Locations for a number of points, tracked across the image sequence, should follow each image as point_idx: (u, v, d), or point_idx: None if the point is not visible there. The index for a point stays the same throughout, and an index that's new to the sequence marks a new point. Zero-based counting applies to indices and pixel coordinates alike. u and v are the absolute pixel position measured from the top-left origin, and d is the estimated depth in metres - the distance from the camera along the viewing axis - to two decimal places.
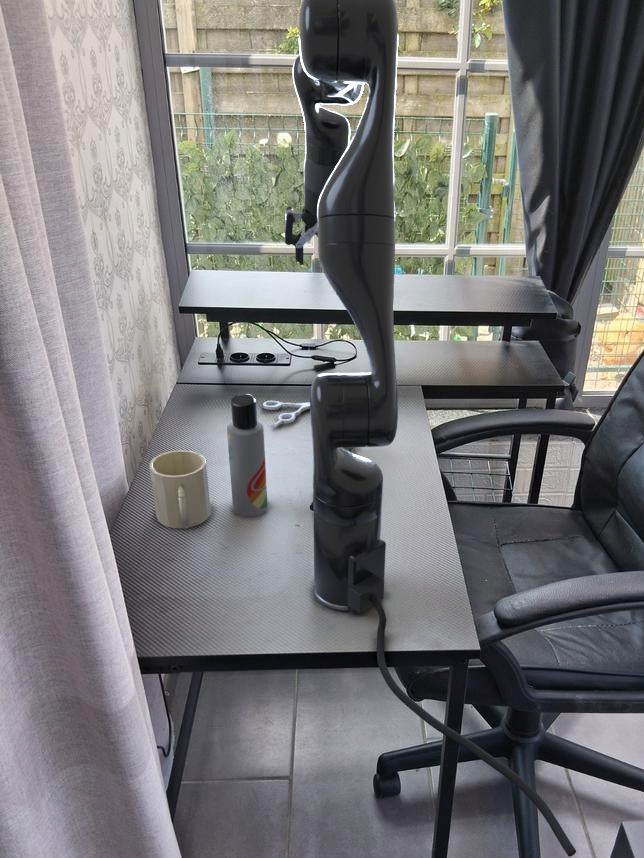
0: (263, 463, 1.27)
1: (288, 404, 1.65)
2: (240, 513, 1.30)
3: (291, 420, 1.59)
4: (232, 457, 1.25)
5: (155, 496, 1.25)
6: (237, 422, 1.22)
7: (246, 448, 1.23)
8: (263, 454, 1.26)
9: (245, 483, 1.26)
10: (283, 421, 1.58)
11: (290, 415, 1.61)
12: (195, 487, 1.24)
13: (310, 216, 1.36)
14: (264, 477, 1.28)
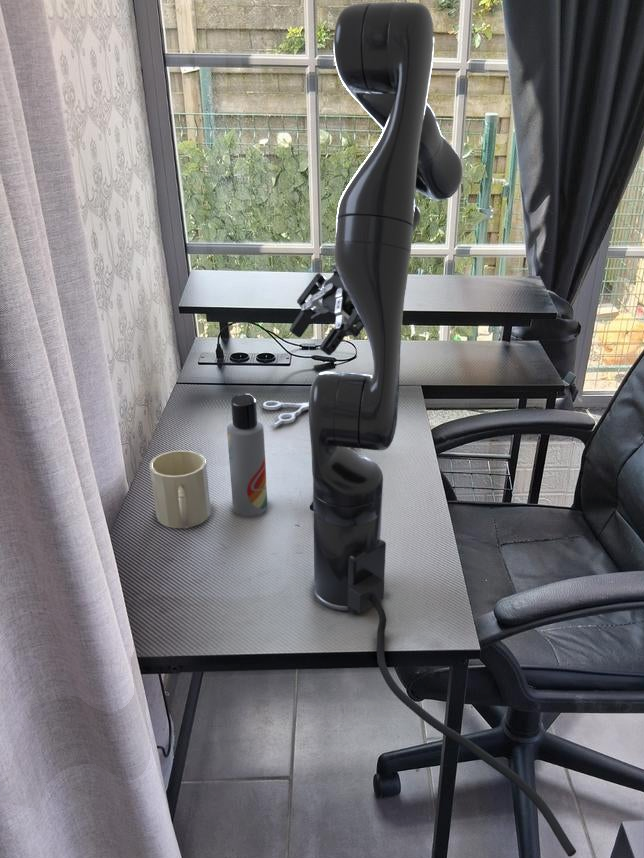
0: (263, 463, 1.27)
1: (288, 404, 1.65)
2: (240, 513, 1.30)
3: (291, 420, 1.59)
4: (232, 457, 1.25)
5: (155, 496, 1.25)
6: (237, 422, 1.22)
7: (246, 448, 1.23)
8: (263, 454, 1.26)
9: (245, 483, 1.26)
10: (283, 421, 1.58)
11: (290, 415, 1.61)
12: (195, 487, 1.24)
13: (331, 280, 1.25)
14: (264, 477, 1.28)
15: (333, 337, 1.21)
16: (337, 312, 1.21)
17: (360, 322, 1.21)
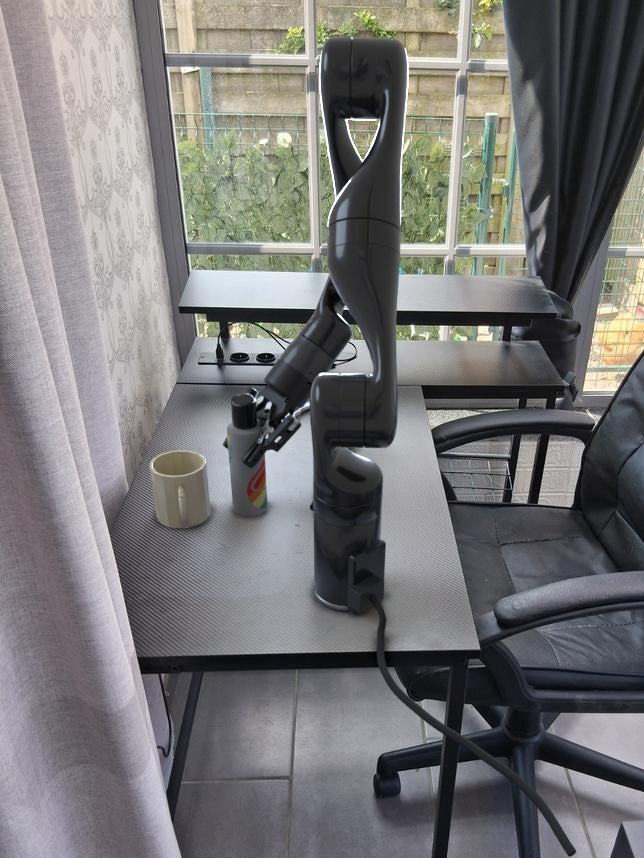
0: (263, 463, 1.27)
1: None
2: (240, 513, 1.30)
3: None
4: (231, 457, 1.25)
5: (155, 496, 1.25)
6: (237, 422, 1.22)
7: (246, 448, 1.23)
8: None
9: (245, 483, 1.26)
10: None
11: None
12: (195, 487, 1.24)
13: (263, 392, 1.27)
14: (264, 477, 1.28)
15: (254, 451, 1.23)
16: (265, 426, 1.22)
17: (283, 438, 1.23)
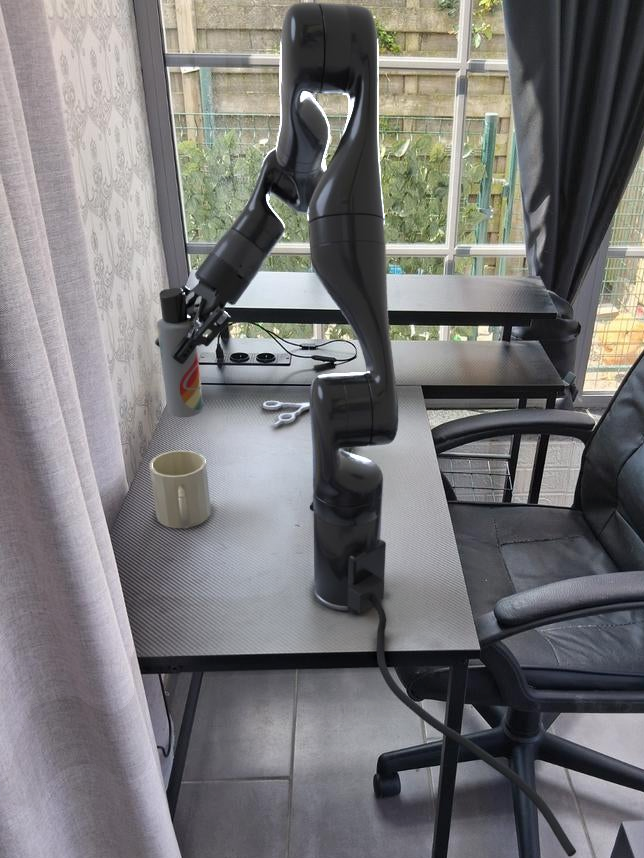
0: (195, 361, 1.25)
1: (288, 404, 1.65)
2: (174, 414, 1.29)
3: (291, 420, 1.59)
4: (162, 354, 1.23)
5: (155, 496, 1.25)
6: (166, 315, 1.20)
7: (176, 343, 1.22)
8: (195, 351, 1.25)
9: (177, 381, 1.25)
10: (283, 421, 1.58)
11: (290, 415, 1.61)
12: (195, 487, 1.24)
13: (195, 289, 1.25)
14: (197, 376, 1.27)
15: (184, 346, 1.21)
16: (195, 320, 1.21)
17: (212, 333, 1.21)
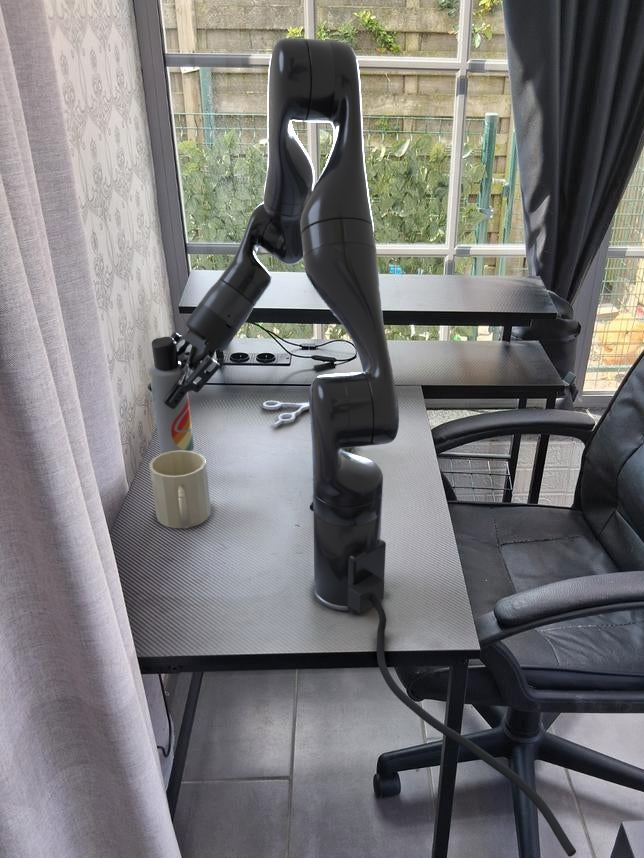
0: (186, 405, 1.31)
1: (288, 404, 1.65)
2: None
3: (291, 420, 1.59)
4: (154, 399, 1.29)
5: (155, 496, 1.25)
6: (158, 363, 1.26)
7: (167, 389, 1.27)
8: (186, 396, 1.30)
9: (169, 424, 1.31)
10: (283, 421, 1.58)
11: (290, 415, 1.61)
12: (195, 487, 1.24)
13: (186, 336, 1.31)
14: (188, 419, 1.33)
15: (175, 392, 1.27)
16: (185, 368, 1.27)
17: (202, 379, 1.27)
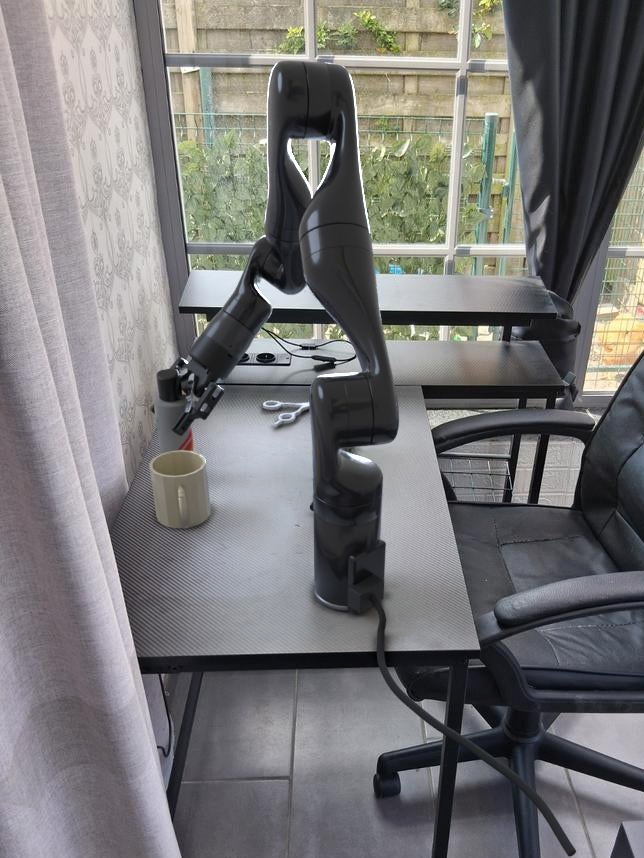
0: (189, 434, 1.34)
1: (288, 404, 1.65)
2: None
3: (291, 420, 1.59)
4: (159, 429, 1.32)
5: (155, 496, 1.25)
6: (162, 395, 1.29)
7: (171, 420, 1.30)
8: None
9: None
10: (283, 421, 1.58)
11: (290, 415, 1.61)
12: (195, 487, 1.24)
13: (189, 365, 1.34)
14: (191, 448, 1.36)
15: (183, 420, 1.29)
16: (188, 396, 1.29)
17: (209, 406, 1.29)
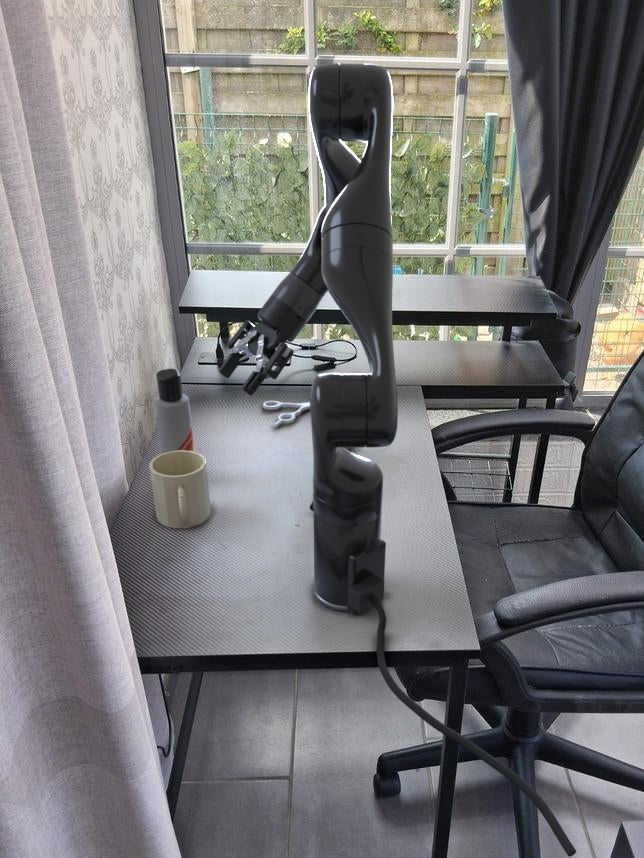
0: (189, 434, 1.34)
1: (288, 404, 1.65)
2: None
3: (291, 420, 1.59)
4: (159, 429, 1.32)
5: (155, 496, 1.25)
6: (162, 395, 1.29)
7: (171, 420, 1.30)
8: (189, 426, 1.33)
9: None
10: (283, 421, 1.58)
11: (290, 415, 1.61)
12: (195, 487, 1.24)
13: (257, 327, 1.37)
14: (191, 448, 1.36)
15: (254, 379, 1.33)
16: (258, 356, 1.33)
17: (279, 366, 1.33)
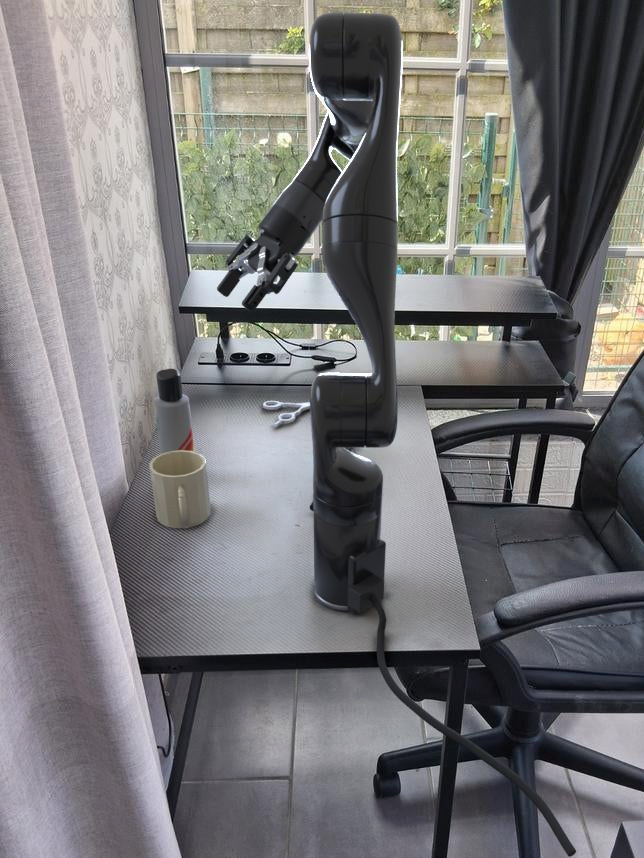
0: (189, 434, 1.34)
1: (288, 404, 1.65)
2: None
3: (291, 420, 1.59)
4: (159, 429, 1.32)
5: (155, 496, 1.25)
6: (162, 395, 1.29)
7: (171, 420, 1.30)
8: (189, 426, 1.33)
9: None
10: (283, 421, 1.58)
11: (290, 415, 1.61)
12: (195, 487, 1.24)
13: (258, 241, 1.28)
14: (191, 448, 1.36)
15: (254, 294, 1.23)
16: (259, 269, 1.23)
17: (281, 280, 1.23)
